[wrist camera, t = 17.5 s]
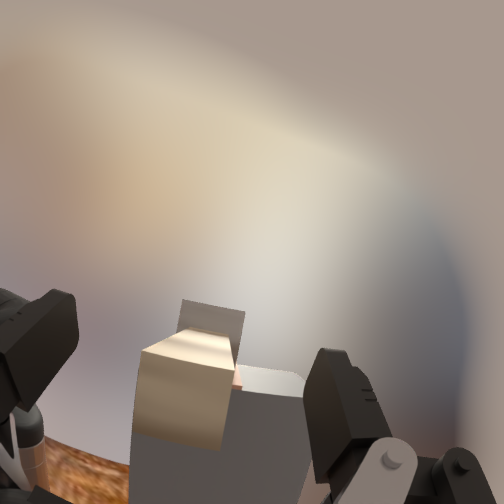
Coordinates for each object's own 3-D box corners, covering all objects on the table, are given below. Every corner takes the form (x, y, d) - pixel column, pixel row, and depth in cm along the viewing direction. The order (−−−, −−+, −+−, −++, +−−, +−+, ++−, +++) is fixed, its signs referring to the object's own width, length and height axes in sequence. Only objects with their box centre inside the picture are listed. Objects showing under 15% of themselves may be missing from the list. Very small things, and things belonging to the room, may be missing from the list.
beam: (249, 455, 8) (277, 314, 9) (105, 422, 8) (124, 282, 9) (232, 360, 28) (241, 311, 29) (182, 350, 27) (191, 301, 28)
